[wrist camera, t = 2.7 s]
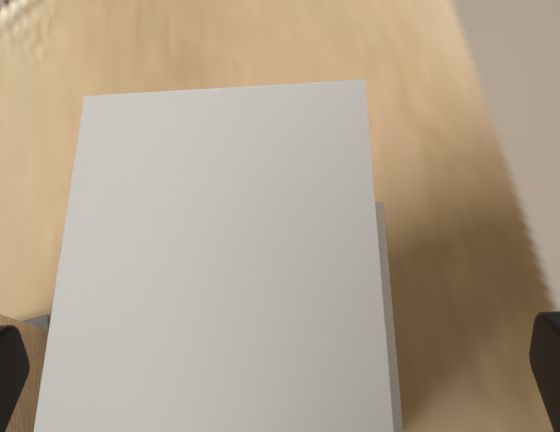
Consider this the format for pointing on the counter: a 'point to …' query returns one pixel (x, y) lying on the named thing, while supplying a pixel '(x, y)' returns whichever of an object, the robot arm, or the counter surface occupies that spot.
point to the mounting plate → (35, 345)
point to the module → (223, 267)
